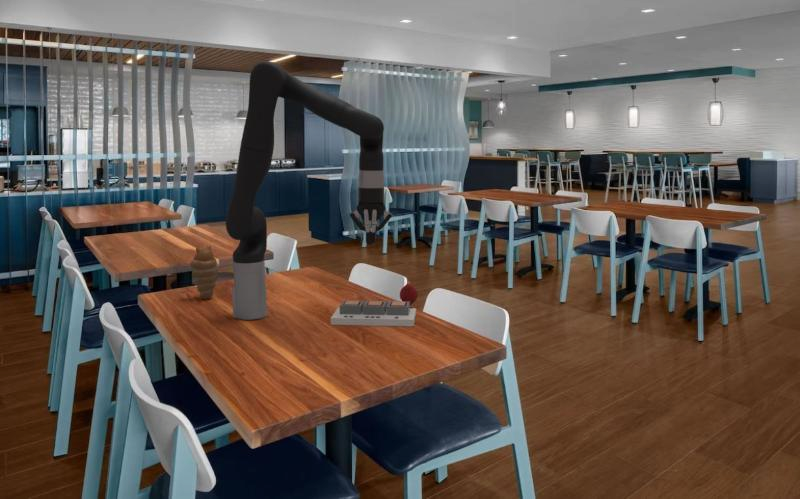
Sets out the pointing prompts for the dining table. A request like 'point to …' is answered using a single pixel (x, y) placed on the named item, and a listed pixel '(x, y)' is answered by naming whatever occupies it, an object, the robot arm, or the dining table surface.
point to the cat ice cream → (204, 271)
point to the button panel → (374, 314)
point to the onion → (408, 293)
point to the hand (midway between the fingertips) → (370, 244)
